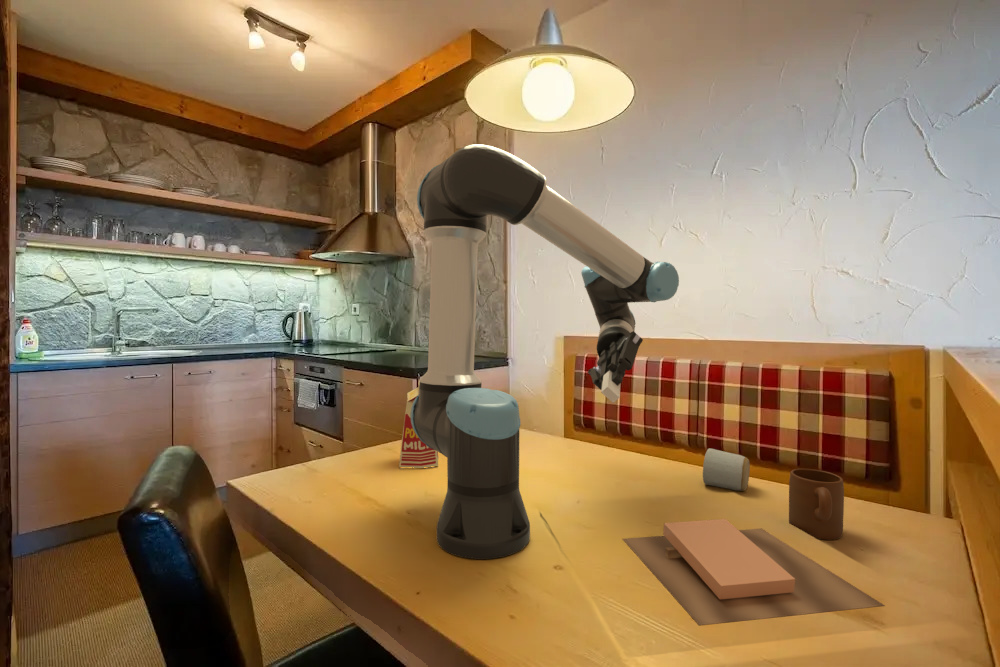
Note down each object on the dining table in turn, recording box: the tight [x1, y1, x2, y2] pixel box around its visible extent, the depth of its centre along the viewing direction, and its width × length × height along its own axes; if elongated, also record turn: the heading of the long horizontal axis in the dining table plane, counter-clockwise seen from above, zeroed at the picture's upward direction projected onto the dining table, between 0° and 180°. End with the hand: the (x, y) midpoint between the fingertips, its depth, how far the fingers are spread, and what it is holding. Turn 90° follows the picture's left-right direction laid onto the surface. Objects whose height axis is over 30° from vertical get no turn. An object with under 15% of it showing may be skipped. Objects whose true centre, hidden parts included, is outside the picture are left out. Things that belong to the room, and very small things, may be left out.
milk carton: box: [398, 380, 439, 468], centre depth 115 cm, size 9×9×20 cm
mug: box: [788, 468, 845, 541], centre depth 77 cm, size 12×8×9 cm, turn 156°
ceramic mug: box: [702, 448, 751, 492], centre depth 100 cm, size 11×8×8 cm
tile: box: [662, 518, 795, 599], centre depth 64 cm, size 10×2×14 cm
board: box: [622, 528, 886, 626], centre depth 65 cm, size 24×21×2 cm
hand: (610, 394), depth 78 cm, fingers closed
